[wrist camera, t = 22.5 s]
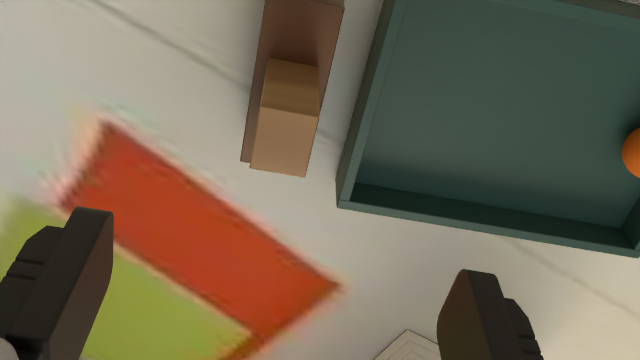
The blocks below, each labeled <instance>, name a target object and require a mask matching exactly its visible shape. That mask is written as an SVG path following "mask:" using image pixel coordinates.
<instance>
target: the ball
mask: <svg viewBox="0 0 640 360" xmlns="http://www.w3.org/2000/svg"><path fill="white" fill-rule="evenodd" d="M622 159H623V162H624V164H625V166H626V168H627V169H628V170H629V171H630V172H631V173H632V174H633V175H635V176H637V177H638V178H640V127H639V128H637V129H636V130H634V131H633V132H632V133H631V134H630V135H629V136H628V137H627V138H626V140H625V142H624V144H623V147H622Z"/></svg>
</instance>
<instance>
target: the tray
mask: <svg viewBox="0 0 640 360" xmlns="http://www.w3.org/2000/svg"><path fill="white" fill-rule="evenodd" d="M639 127H640V6H638V5H634V4H629V3H625V2H620V1H616V0H384V3H383V6H382V10H381V14H380V18H379V21H378V25H377V29H376V32H375V36H374V40H373V43H372V47H371V51H370V54H369V58H368V62H367V65H366V69H365V73H364V76H363V80H362V84H361V87H360V91H359V95H358V98H357V102H356V106H355V109H354V113H353V117H352V120H351V124H350V128H349V132H348V135H347V139H346V143H345V146H344V150H343V154H342V157H341V161H340V165H339V168H338V172H337V176H336V179H335V180H336V204H337V208H341V209H347V210H353V211H359V212H365V213H371V214H377V215H383V216H389V217H395V218H401V219H407V220H413V221H419V222H425V223H431V224H436V225H442V226H448V227H454V228H460V229H466V230H472V231H478V232H484V233H490V234H496V235H502V236H508V237H514V238H520V239H526V240H532V241H537V242H543V243H549V244H555V245H561V246H567V247H573V248H579V249H585V250H591V251H597V252H603V253H609V254H615V255H621V256H627V257H633V258H639V257H640V178H638V177H637V176H635V175H633V174H632V173H631V172H630V171H629V170H628V169H627V168H626V166H625V164H624V162H623V159H622V147H623V144H624V142H625V140H626V138H627V137H628V136H629V135H630V134H631V133H632V132H633V131H634V130H636V129H637V128H639Z"/></svg>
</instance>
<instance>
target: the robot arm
mask: <svg viewBox="0 0 640 360" xmlns="http://www.w3.org/2000/svg"><path fill="white" fill-rule="evenodd" d="M113 226H114V217H113V213H112V212H110V211H104V210H98V209H92V208H86V207H79V206H78V207H76V208H75V209H74V211H73V212H72V214H71V216H70V218H69V220H68V221H67V223H66V225H65V227H64V228H60V227H54V226H46V227H44V228H43V229H41V230H40V231H39V232H37V233H36V234H34V235H33V236H32V237H30V238H29V239H27V241H26V242H25V244H24V246H23V247H22V249H21V250H20V252H19V254H18V255H17V257H16V260H15V262H13V263H12V265H11V266H10V268H9V270H8V271H7V274H6V277H4V278H3V279H2V281H1V283H0V360H79V357H80V355H81V352H82V350H83V347H84V345H85V342H86V340H87V338H88V335H89V333H90V330H91V328H92V325H93V323H94V320H95V318H96V316H97V313H98V311H99V308H100V306H101V303H102V301H103V298H104V296H105V294H106V291H107V288H108V285H109V282H110V278H111V273H112V267H113ZM437 341H438V346H439V351H440V356H441V360H544V359H543V356H541V355H540V353H541V351H540V348H539V345H538V343H537V340H535V335H534V332H533V329H532V327H531V324H530V321H529V319H528V317H527V316H526V314H525V313H524V312H523V311H522V309H521V308H520V307H519V306H518V304H517V303H516V302H515V301H514V299H508V298H504V296H503V293H502V291H501V288H500V285H499V282H498V279H497V277H496V276H495V275H494V274H490V273H484V272H478V271H472V270H465V269H462V270H461V271H460V272H459V273H458V275H457V277H456V279H455V281H454V283H453V286H452V288H451V290H450V292H449V294H448V296H447V298H446V300H445V303H444V305H443V307H442V309H441V311H440V314H439V317H438V322H437Z"/></svg>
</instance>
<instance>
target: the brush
mask: <svg viewBox="0 0 640 360" xmlns="http://www.w3.org/2000/svg"><path fill="white" fill-rule="evenodd" d="M344 9H345V7H344V0H265V6H264V13H263V19H262V25H261V31H260V38H259V44H258V50H257V57H256V63H255V69H254V76H253V82H252V88H251V94H250V101H249V107H248V113H247V120H246V126H245V132H244V139H243V145H242V151H241V158H240V161H241V162H246V163H250V168H252V169H258V170H264V171H269V172H275V173H281V174H287V175H293V176H299V177H305V176H306V171H307V167H308V163H309V159H310V154H311V150H312V146H313V141H314V137H315V133H316V129H317V124H318V120H319V115H320V111H321V107H322V103H323V98H324V94H325V90H326V85H327V81H328V77H329V73H330V68H331V64H332V60H333V56H334V51H335V47H336V43H337V39H338V34H339V30H340V26H341V22H342V17H343V13H344Z"/></svg>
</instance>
